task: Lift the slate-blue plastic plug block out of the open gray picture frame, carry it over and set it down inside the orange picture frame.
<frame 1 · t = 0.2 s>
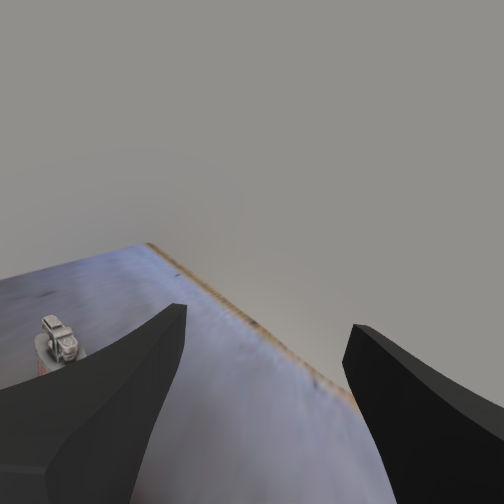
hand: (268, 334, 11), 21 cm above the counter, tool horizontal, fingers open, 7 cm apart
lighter: (62, 408, 28), on the counter
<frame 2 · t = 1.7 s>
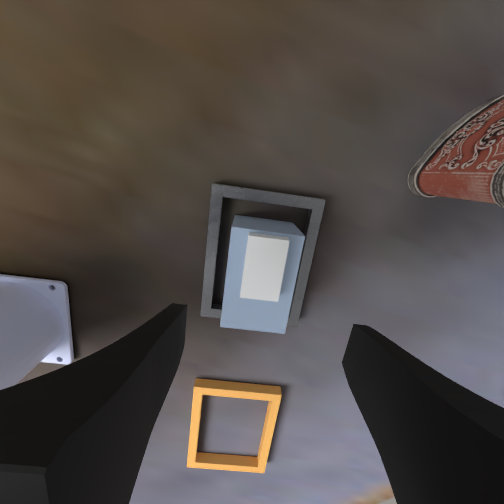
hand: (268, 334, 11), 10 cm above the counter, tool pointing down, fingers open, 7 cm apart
open gray picture frame: (258, 257, 20), on the counter
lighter: (455, 149, 18), on the counter
plug: (258, 273, 18), in the open gray picture frame
orange picture frame: (232, 423, 26), on the counter
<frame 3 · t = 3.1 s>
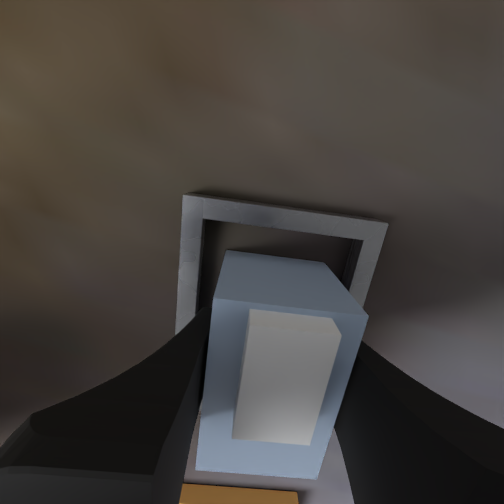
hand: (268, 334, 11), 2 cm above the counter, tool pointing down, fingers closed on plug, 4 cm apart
open gray picture frame: (265, 314, 12), on the counter
plug: (268, 361, 10), in the open gray picture frame, touching gripper
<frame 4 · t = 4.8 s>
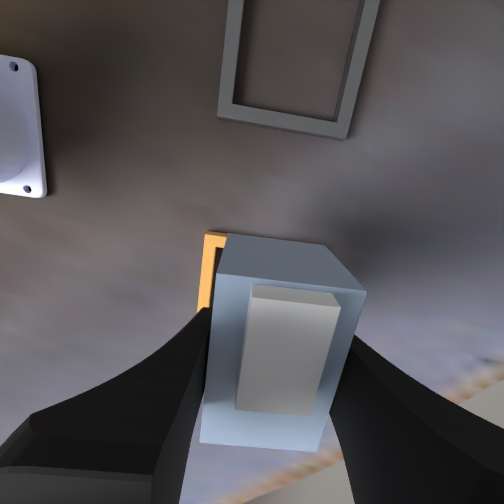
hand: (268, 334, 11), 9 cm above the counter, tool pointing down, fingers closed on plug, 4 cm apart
open gray picture frame: (297, 32, 15), on the counter
plug: (269, 339, 10), point 10 cm above the counter, touching gripper
orange picture frame: (251, 301, 20), on the counter
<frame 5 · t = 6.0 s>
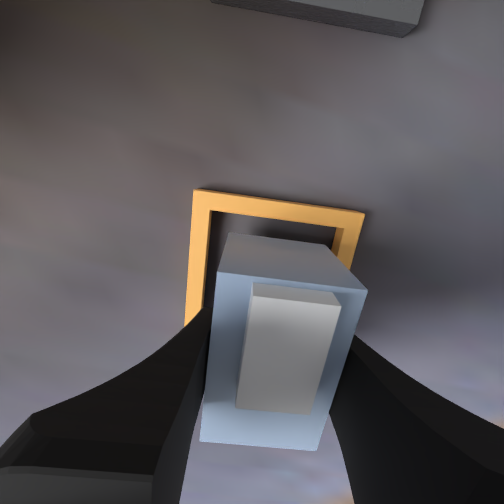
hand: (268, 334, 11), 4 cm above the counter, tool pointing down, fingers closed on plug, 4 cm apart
plug: (269, 338, 10), point 4 cm above the counter, touching gripper
orange picture frame: (262, 294, 14), on the counter
when the fingers open (3 cm above the counter, at t = 6.7 s): plug stays where it is, resting in orange picture frame.
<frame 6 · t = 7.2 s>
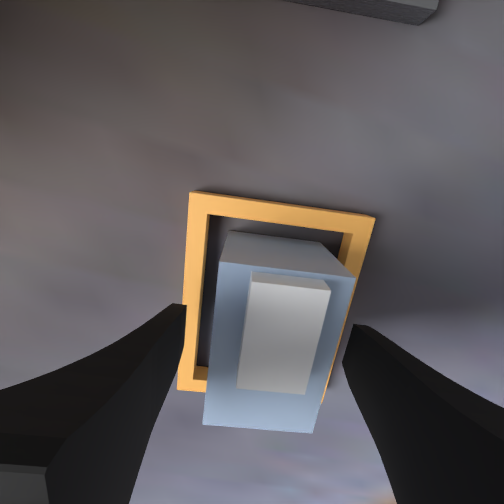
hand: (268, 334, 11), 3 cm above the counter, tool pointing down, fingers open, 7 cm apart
plug: (267, 328, 11), in the orange picture frame
orange picture frame: (264, 303, 13), on the counter
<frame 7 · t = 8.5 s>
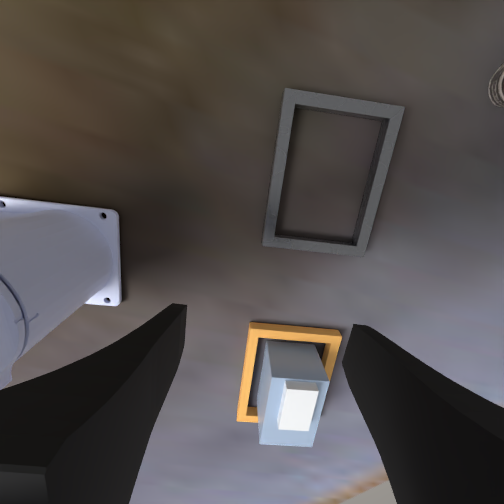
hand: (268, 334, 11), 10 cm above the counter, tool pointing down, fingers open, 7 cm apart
open gray picture frame: (324, 180, 19), on the counter
plug: (289, 394, 22), in the orange picture frame
orange picture frame: (284, 373, 24), on the counter
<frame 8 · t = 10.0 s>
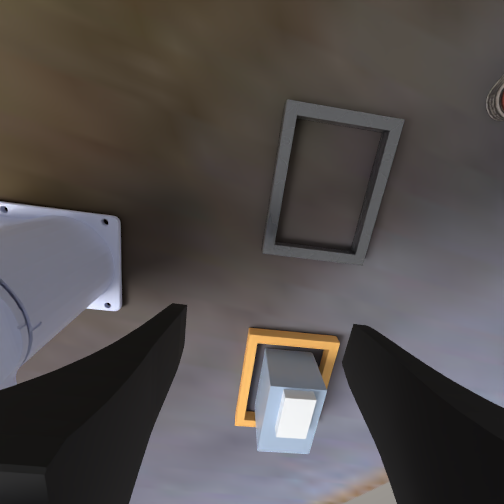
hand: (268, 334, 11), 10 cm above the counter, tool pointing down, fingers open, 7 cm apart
open gray picture frame: (324, 190, 19), on the counter
plug: (286, 402, 22), in the orange picture frame
orange picture frame: (283, 378, 25), on the counter
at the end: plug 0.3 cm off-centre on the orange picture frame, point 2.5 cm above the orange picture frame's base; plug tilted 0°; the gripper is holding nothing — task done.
